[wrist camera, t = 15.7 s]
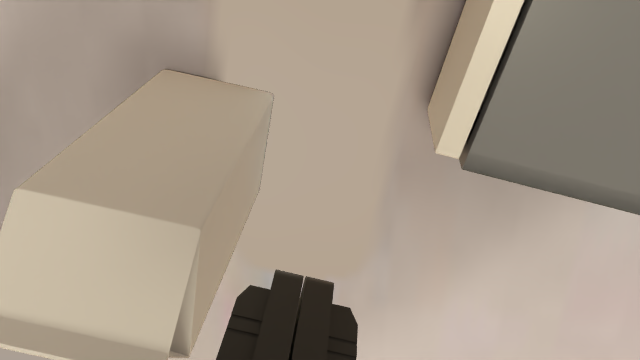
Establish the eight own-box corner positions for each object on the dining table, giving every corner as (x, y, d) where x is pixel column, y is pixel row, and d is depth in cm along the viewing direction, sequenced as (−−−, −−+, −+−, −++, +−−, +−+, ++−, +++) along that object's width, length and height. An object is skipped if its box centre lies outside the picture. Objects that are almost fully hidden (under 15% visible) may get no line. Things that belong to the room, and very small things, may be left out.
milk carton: (163, 67, 32) (-68, 253, 16) (275, 92, 32) (160, 303, 16) (159, 165, 36) (-33, 401, 19) (260, 188, 36) (153, 443, 19)
